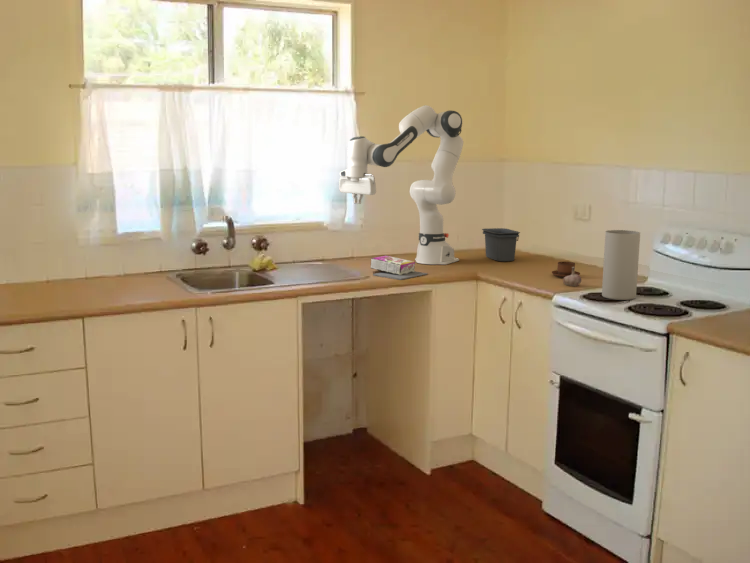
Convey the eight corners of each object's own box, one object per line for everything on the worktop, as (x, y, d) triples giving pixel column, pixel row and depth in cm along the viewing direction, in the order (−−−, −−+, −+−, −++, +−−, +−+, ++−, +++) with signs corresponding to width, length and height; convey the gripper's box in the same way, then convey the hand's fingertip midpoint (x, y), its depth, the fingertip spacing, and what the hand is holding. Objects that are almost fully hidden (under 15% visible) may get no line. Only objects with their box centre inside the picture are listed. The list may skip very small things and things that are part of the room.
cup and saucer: (552, 273, 361) (553, 260, 360) (580, 275, 357) (581, 261, 356) (550, 278, 349) (551, 264, 348) (579, 280, 346) (579, 265, 345)
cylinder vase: (642, 299, 306) (647, 233, 301) (613, 301, 302) (617, 234, 297) (623, 293, 317) (627, 229, 313) (595, 294, 314) (599, 230, 309)
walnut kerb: (394, 270, 366) (394, 267, 366) (396, 270, 365) (396, 267, 365) (372, 274, 356) (372, 270, 356) (374, 274, 355) (374, 271, 355)
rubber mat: (400, 270, 366) (400, 268, 366) (427, 274, 356) (427, 273, 355) (372, 275, 353) (372, 273, 353) (400, 280, 343) (400, 278, 342)
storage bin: (478, 256, 408) (479, 228, 406) (507, 255, 412) (508, 227, 410) (495, 263, 388) (496, 233, 386) (525, 261, 392) (526, 232, 389)
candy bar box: (385, 254, 367) (415, 261, 357) (384, 265, 368) (414, 272, 358) (370, 257, 358) (401, 264, 348) (369, 268, 359) (400, 275, 350)
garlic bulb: (579, 288, 328) (580, 268, 327) (561, 286, 331) (562, 267, 329) (582, 284, 335) (583, 265, 334) (563, 283, 338) (564, 264, 336)
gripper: (379, 173, 362) (379, 204, 365) (346, 171, 376) (346, 201, 378) (369, 174, 357) (369, 205, 360) (336, 172, 371) (337, 202, 374)
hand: (357, 203), depth 369 cm, fingers closed
